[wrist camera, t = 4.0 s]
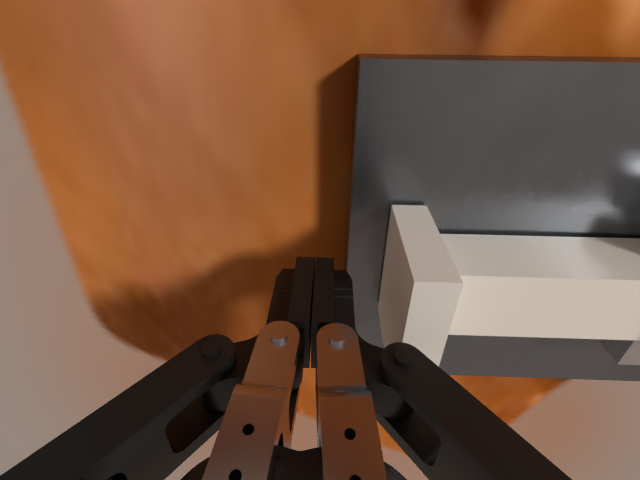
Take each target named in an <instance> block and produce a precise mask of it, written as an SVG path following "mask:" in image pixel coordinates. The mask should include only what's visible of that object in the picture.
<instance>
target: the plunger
mask: <svg viewBox="0 0 640 480" xmlns="http://www.w3.org/2000/svg"><path fill="white" fill-rule="evenodd" d="M378 311H379V318H380V325H381V332H382V338H383V345H384V348H385V347H386V346H387V345H389V344H391V343H396V342H403V343H407V344H410V345H412V346H414V347H416V348H417V349H419V350H420V351H421V352H422V353H423V354H424V355H426V356H427V357H428V358H429V359H430V360H431V361H433V362H434V363H435V364H436V365H437V366H439V364H440V361H441V358H442V354H443V351H444V347H445V344H446V341H447V337H448V335H475V336H508V337H540V338H573V339H606V340H639V341H640V238H599V237H558V236H516V235H475V234H440V233H439V230H438V228H437V226H436V224H435V222H434V220H433V218H432V216H431V214H430V212H429V209H428V207H427V206H423V205H391V213H390V220H389V228H388V235H387V243H386V250H385V258H384V266H383V273H382V281H381V288H380V296H379V303H378Z"/></svg>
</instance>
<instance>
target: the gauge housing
mask: <svg viewBox="0 0 640 480" xmlns="http://www.w3.org/2000/svg"><path fill="white" fill-rule="evenodd" d="M391 205H423V206H427V207H428V209H429V212H430V214H431V216H432V218H433V220H434V222H435V224H436V226H437V228H438V230H439V233H440V234H475V235H516V236H558V237H599V238H640V58H627V57H549V56H472V55H394V54H358V58H357V75H356V92H355V109H354V126H353V143H352V160H351V177H350V194H349V210H348V227H347V244H346V261H345V271H347V272H348V274H349V275H350V277H351V278H352V284H353V299H354V315H355V327H356V331H357V333H358V335H359V336H360V337H361V338H362V339H363V340H364V341H366V342H368V343H370V344H372V345H375V346H378V347H381V348H384V345H383V338H382V332H381V325H380V318H379V311H378V303H379V296H380V288H381V281H382V273H383V266H384V258H385V250H386V243H387V235H388V228H389V220H390V213H391ZM439 367H440V368H441V369H442V370H443V371H444V372H446V373H447V374H448V375H472V376H502V377H532V378H563V379H593V380H594V379H596V380H624V381H625V380H626V381H640V341H639V340H606V339H573V338H540V337H508V336H475V335H448V337H447V341H446V344H445V347H444V351H443V354H442V358H441V361H440V364H439Z"/></svg>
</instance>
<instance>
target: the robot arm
mask: <svg viewBox="0 0 640 480" xmlns="http://www.w3.org/2000/svg"><path fill="white" fill-rule="evenodd" d="M310 350H311V368H316V387H315V391H316V421H317V448H313V449H309V450H305V451H296V450H293V449H291V442H292V435H293V429H294V423H295V417H296V412H297V406H298V400H299V394H300V388H301V382H302V376H303V368H309V364H310ZM376 420H377V421H378V422H379V423H380V425H381V426H382V427H383V428H384V429H385V430H386V431H387V432H388V434H389V435H390V436H391V437H392V438H393V439H394V440H395V442H396V443H397V444H398V445H399V446H400V447H401V448H402V450H403V451H404V452H405V453H406V454H407V455H408V456H409V457H410V459H411V460H412V461H413V462H414V463H415V464H416V465H417V467H418V468H419V469H420V470H421V471H422V472H423V473H424V475H426V477H427V478H428V479H429V480H572V479H571V478H569V477H568V476H567V475H566V474H565V473H563V472H562V471H561V470H560V469H559V468H558V467H556V466H555V465H554V464H553V463H552V462H551V461H549V460H548V459H547V458H546V457H545V456H543V455H542V454H541V453H540V452H539V451H538V450H536V449H535V448H534V447H533V446H532V445H530V444H529V443H528V442H527V441H526V440H524V439H523V438H522V437H521V436H520V435H519V434H517V433H516V432H515V431H514V430H513V429H512V428H510V427H509V426H508V425H507V424H506V423H505V422H503V421H502V420H501V419H500V418H499V417H497V416H496V415H495V414H494V413H493V412H492V411H490V410H489V409H488V408H487V407H486V406H485V405H483V404H482V403H481V402H480V401H479V400H477V399H476V398H475V397H474V396H473V395H472V394H470V393H469V392H468V391H467V390H466V389H464V388H463V387H462V386H461V385H460V384H459V383H457V382H456V381H455V380H454V379H453V378H452V377H450V376H449V375H448V374H447V373H446V372H444V371H443V370H442V369H441V368H440V367H439V366H437V365H436V364H435V363H434V362H433V361H431V360H430V359H429V358H428V357H427V356H426V355H424V354H423V353H422V352H421V351H420V350H419V349H417V348H416V347H414V346H412V345H410V344H407V343H403V342H396V343H391V344H389V345H387V346H386V347H385V348H381V347H378V346H375V345H372V344H370V343H368V342H366V341H364V340H363V339H362V338H361V337H360V336H359V335H358V333H357V331H356V327H355V315H354V299H353V284H352V278H351V277H350V275H349V274H348V272H347V271H339V270H334V258H322V257H316V266H315V257H297V259H296V266H295V269H283V270H282V271H281V272H280V273H279V274H278V276H277V277H276V282H275V288H274V291H273V296H272V300H271V305H270V309H269V314H268V319H267V323H266V325H265V326H264V327H263V328H262V329H261V330H260V332H259V334H258V335H257V336H255V337H253V338H251V339H248V340H245V341H241V342H236V343H233V342H232V341H231V340H230V339H229V338H228V337H226V336H224V335H218V334H215V335H209V336H205V337H203V338H201V339H200V340H198V341H197V342H195V343H194V344H192V345H191V346H189V347H188V348H186V349H185V350H183V351H182V352H180V353H179V354H178V355H176V356H175V357H173V358H172V359H170V360H169V361H167V362H166V363H164V364H163V365H162V366H160V367H159V368H157V369H156V370H154V371H153V372H151V373H150V374H148V375H147V376H145V377H144V378H143V379H141V380H140V381H138V382H137V383H135V384H134V385H132V386H131V387H130V388H128V389H127V390H125V391H123V392H122V393H121V394H119V395H118V396H116V397H115V398H113V399H112V400H110V401H109V402H108V403H106V404H105V405H103V406H102V407H100V408H99V409H97V410H96V411H94V412H93V413H91V414H90V415H89V416H87V417H86V418H84V419H83V420H81V421H80V422H79V423H77V424H75V425H74V426H73V427H71V428H70V429H68V430H67V431H65V432H64V433H62V434H61V435H59V436H58V437H57V438H55V439H53V440H52V441H51V442H49V443H48V444H46V445H45V446H43V447H42V448H40V449H39V450H37V451H36V452H34V453H33V454H32V455H30V456H29V457H27V458H26V459H24V460H23V461H21V462H20V463H18V464H17V465H15V466H14V467H13V468H11V469H10V470H8V471H7V472H5V473H4V474H2V475H1V476H0V480H164V479H165V478H166V477H167V476H169V475H170V474H171V473H172V472H173V471H174V470H175V469H176V468H177V467H178V466H180V465H181V464H182V463H183V462H184V461H185V460H186V459H187V458H188V457H189V456H191V455H192V453H194V452H195V451H196V450H197V449H198V448H199V447H200V446H201V445H203V444H204V443H205V442H206V441H207V440H208V439H209V438H210V437H211V436H212V435H213V434H215V433H216V432H217V431H218V430H219V432H218V435H217V438H216V441H215V444H214V447H213V449H212V452H211V455H210V457H209V458H207V459H205V460H204V461H202V462H201V463H199V464H198V465H196V466H195V467H194V468H193V469H191V470H190V471H189V472H188V473H187V474H186V475H185V476H184V477H183V478H182V479H181V480H406V479H405V478H404V477H403V476H402V475H401V474H400V473H399V472H398V471H397V470H395V469H394V468H393V467H392V466H390V465H389V464H387V463H385V462H384V461H383V456H382V450H381V444H380V438H379V433H378V427H377V421H376Z"/></svg>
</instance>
